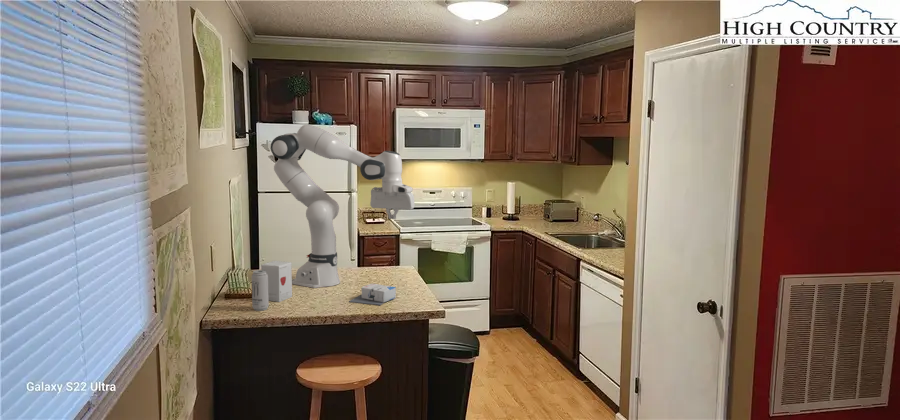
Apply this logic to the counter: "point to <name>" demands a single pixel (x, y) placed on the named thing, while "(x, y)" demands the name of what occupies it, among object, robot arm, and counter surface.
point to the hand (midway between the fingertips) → (392, 218)
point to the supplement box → (278, 280)
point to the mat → (365, 301)
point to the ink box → (378, 292)
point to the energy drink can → (260, 290)
